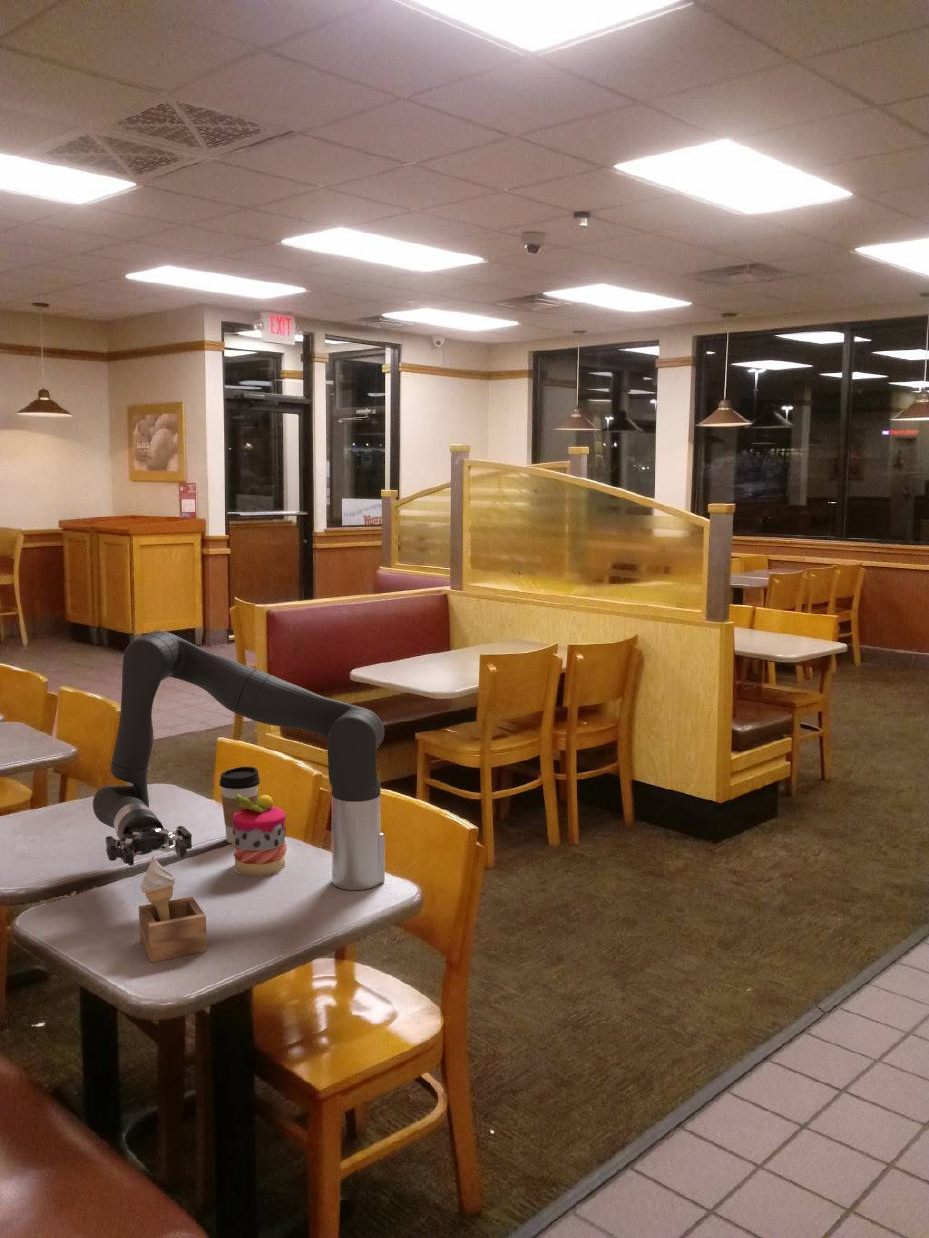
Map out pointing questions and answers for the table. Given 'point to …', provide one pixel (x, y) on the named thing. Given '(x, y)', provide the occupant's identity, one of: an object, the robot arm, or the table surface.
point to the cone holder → (173, 930)
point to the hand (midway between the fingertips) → (157, 856)
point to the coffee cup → (237, 793)
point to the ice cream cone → (158, 888)
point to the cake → (259, 837)
